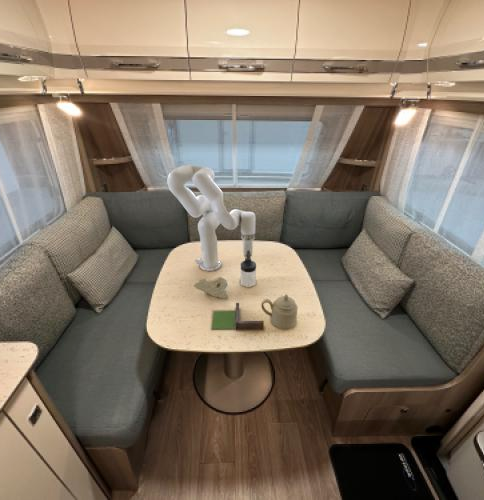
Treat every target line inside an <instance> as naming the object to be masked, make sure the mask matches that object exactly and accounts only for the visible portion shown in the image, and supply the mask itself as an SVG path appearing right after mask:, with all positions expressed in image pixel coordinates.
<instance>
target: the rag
mask: <svg viewBox="0 0 484 500" xmlns="http://www.w3.org/2000/svg"><path fill="white" fill-rule="evenodd" d="M211 330H236V310H213V316H212V324H211Z"/></svg>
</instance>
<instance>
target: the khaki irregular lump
mask: <svg viewBox="0 0 484 500" xmlns="http://www.w3.org/2000/svg"><path fill="white" fill-rule="evenodd" d="M193 287H194V288H195V289H197V290H199V291H201V292H203V293H204V294H205V295H210V296H212V297H213V298H217V299H222V300H227V299H228V294H227V291H226V289H227V287H228V281H227V280H226V278H224V277H222V276H220V277H217V278H215V279H213V280H211V279H210V280H207V279H206V277H204V278H202V279H199V280H198V281H197V282H195V283H194V284H193Z"/></svg>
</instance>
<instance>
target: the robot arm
mask: <svg viewBox="0 0 484 500" xmlns="http://www.w3.org/2000/svg"><path fill="white" fill-rule="evenodd" d="M215 178H216V176H215V173H214V171H213V170H212V168H210V167H207V166H202V165H195V164H190V163H189V164H188V163H187V164H182V165H181V166H179V167H176V168H174V169H173V170H171V171H170V172H169V174H168V176H167V179H166V183H167V188H168V190H169V191H170V193H172V195H173V196H174V197H175V198H176V199H177V200H178V202H179V203H180V204H181V205H182V207H183V208H184V209H185V210H186V212H187V213H188V215H190V216H191V217H192V218H195V219H197V218H200V217H201V216H202V217H201V218H200V219H199V221H198V222H197V231H198V234H199V241H200V253H201V257H199V258H194V262H195V263H196V265H199V268H200V269H201V270H203V271H206V272H215V271H216V270H219V269H220V268H221V266H222V262H221V261H220V259H219V251H218V250H219V249H218V236H217V233H216V229H218V227H219V226H220V225H222V227H224V228H225V229H226V230H229V231H230V230H231V231H233V230H235V229H237V227H238V226H239V225H240V238H241V240H242V256H243V257H244V261H245V260H251V261H252V257H253V251H254V250H253V249H254V240H255V239H256V220H257V219H256V213H254V212H252V211H244V210H240V209H237V208H236V209H235V208H234V209H232V210H230V211H228V210H227V208H226V206H225V204H224V203H225V202H224V192H223V191H222V189H221V188H220V187H219V186H218V185H217V184H216V182H215ZM190 181H192V183H193V185H194V186H195V188H197V190H198V191H199V192H200V193H201V194H200V195H199V194H198V195H197V196H196V195H195V194H194V192H193V191H192V190H191V189H190V188H189V187H187V186H186V185H185V184H186V183H188V182H190Z"/></svg>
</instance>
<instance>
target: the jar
mask: <svg viewBox="0 0 484 500" xmlns="http://www.w3.org/2000/svg"><path fill="white" fill-rule="evenodd" d="M256 284H257V263H256V262H255V261H254V260H252V259H251V260H245V259H244V260H243V261H241V262H240V285H241V286H244V287H245V288H250V287H254V286H255V285H256Z"/></svg>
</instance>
